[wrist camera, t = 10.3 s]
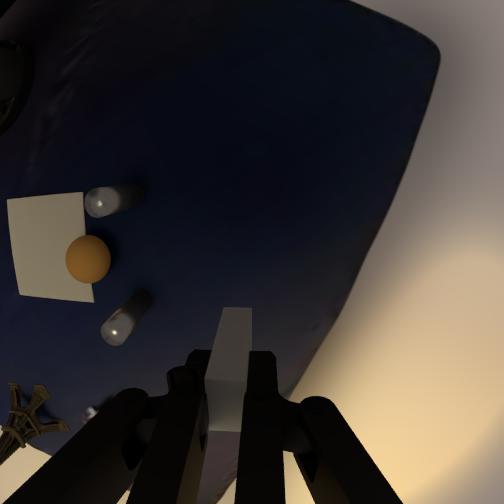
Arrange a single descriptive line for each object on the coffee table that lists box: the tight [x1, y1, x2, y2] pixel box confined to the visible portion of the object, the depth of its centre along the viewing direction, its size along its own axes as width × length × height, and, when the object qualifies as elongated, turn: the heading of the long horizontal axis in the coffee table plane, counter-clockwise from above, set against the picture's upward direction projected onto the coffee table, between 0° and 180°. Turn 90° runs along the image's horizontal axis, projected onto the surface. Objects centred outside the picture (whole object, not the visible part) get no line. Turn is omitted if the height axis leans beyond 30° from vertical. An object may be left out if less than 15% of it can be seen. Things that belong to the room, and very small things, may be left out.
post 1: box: [85, 183, 145, 218], centre depth 30 cm, size 3×3×9 cm
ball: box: [65, 235, 111, 283], centre depth 33 cm, size 6×6×6 cm
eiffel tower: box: [0, 382, 70, 465], centre depth 31 cm, size 11×11×25 cm
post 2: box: [101, 290, 152, 346], centre depth 33 cm, size 3×3×9 cm
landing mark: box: [7, 192, 94, 302], centre depth 36 cm, size 14×14×1 cm
